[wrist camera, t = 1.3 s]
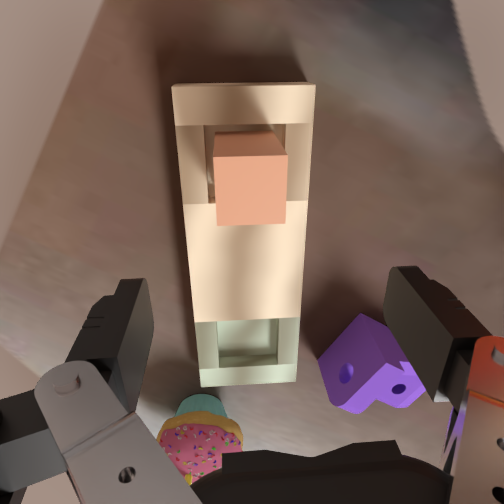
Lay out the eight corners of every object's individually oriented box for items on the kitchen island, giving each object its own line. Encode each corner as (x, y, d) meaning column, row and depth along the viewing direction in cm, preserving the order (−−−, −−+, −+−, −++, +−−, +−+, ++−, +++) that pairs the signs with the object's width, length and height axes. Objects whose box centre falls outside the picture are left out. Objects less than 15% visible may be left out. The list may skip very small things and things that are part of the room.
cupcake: (202, 443, 43) (196, 570, 33) (143, 410, 40) (115, 539, 30) (257, 405, 41) (269, 529, 31) (199, 366, 38) (191, 489, 27)
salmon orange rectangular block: (272, 130, 26) (288, 155, 20) (271, 185, 28) (285, 223, 22) (214, 131, 26) (213, 157, 20) (217, 187, 28) (216, 226, 22)
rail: (307, 81, 26) (315, 84, 24) (291, 362, 38) (295, 381, 36) (175, 83, 25) (171, 86, 23) (202, 367, 38) (201, 387, 36)
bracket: (316, 357, 39) (333, 414, 33) (359, 310, 36) (386, 362, 30) (401, 395, 42) (430, 453, 36) (445, 355, 40) (484, 410, 34)
